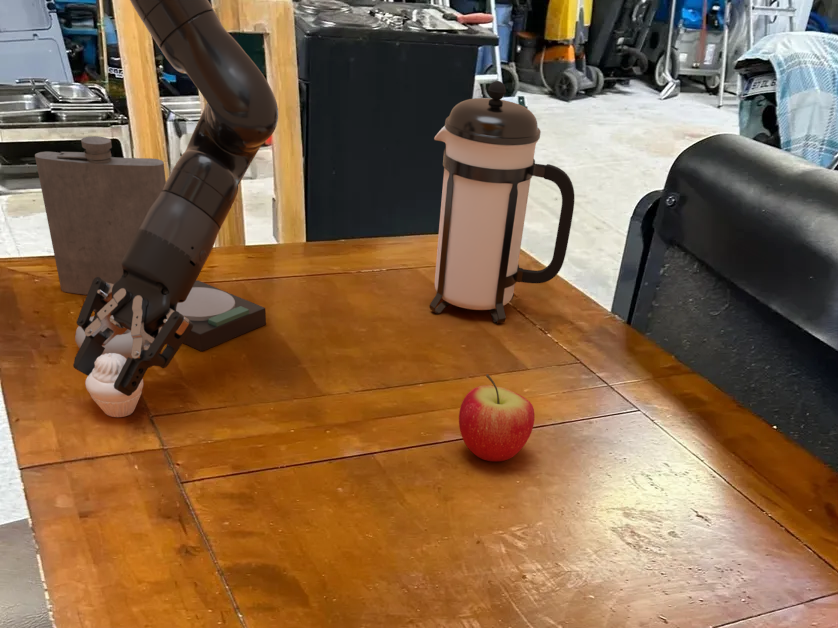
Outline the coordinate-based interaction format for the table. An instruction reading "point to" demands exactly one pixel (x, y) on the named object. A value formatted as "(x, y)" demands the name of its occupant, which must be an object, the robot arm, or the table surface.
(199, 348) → the scale
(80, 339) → the donut
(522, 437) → the apple
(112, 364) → the muffin
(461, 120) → the coffee press
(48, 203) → the hip flask
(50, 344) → the table surface
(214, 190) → the robot arm
